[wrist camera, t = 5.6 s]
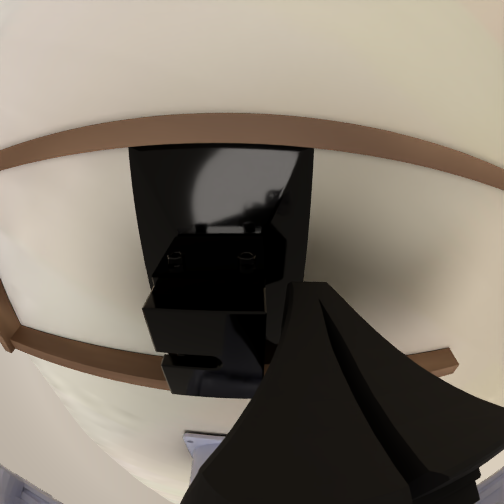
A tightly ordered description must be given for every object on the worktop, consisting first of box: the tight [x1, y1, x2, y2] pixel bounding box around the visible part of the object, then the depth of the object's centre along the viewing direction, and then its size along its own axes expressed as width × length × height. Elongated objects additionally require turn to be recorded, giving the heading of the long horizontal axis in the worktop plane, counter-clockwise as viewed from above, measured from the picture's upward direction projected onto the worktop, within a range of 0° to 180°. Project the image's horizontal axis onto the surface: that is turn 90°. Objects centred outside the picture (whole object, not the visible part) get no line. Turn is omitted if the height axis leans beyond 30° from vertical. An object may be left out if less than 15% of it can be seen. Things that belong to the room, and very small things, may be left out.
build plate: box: [128, 143, 314, 399], centre depth 9 cm, size 12×7×5 cm, turn 0°
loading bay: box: [0, 113, 504, 390], centre depth 8 cm, size 12×29×5 cm, turn 88°
